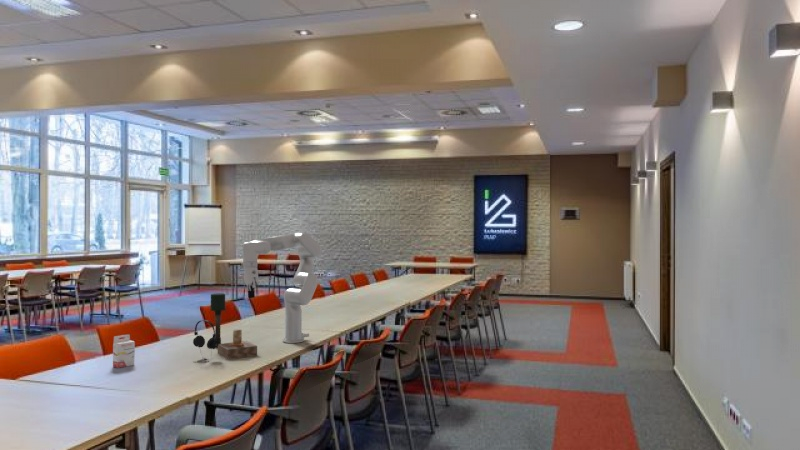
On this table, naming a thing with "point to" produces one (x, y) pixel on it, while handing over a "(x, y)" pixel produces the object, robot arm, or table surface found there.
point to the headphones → (200, 340)
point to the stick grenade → (218, 311)
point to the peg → (237, 338)
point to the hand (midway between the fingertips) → (251, 297)
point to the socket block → (237, 350)
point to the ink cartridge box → (123, 351)
